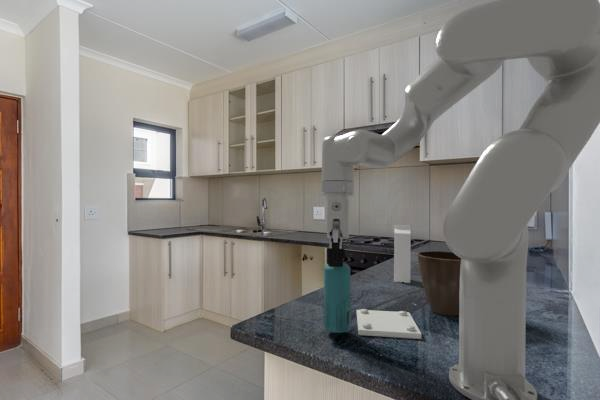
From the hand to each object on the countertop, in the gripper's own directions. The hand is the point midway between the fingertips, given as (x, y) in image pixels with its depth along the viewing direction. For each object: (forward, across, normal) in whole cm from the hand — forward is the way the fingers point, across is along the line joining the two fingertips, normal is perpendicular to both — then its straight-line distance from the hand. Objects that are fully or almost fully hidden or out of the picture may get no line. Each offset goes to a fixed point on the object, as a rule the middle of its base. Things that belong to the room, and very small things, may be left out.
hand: (335, 262), depth 75 cm
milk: (+17, +54, -25) cm, 61 cm away
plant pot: (+17, +20, -31) cm, 40 cm away
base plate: (+17, +7, -13) cm, 22 cm away
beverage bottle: (+17, 0, -1) cm, 17 cm away
